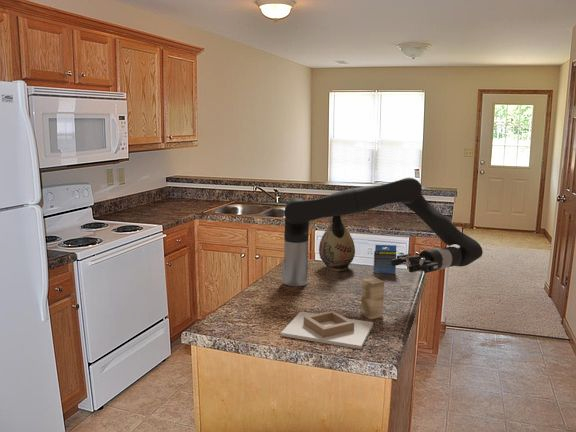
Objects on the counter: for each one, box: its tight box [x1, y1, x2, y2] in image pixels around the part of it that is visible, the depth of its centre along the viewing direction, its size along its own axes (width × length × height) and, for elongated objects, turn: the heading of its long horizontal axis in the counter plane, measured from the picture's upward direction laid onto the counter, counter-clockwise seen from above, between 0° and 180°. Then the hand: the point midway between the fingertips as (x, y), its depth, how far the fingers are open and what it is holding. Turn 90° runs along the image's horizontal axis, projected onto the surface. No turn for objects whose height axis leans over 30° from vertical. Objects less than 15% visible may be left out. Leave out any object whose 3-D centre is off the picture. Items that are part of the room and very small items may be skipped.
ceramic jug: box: [318, 215, 356, 272], centre depth 214 cm, size 17×15×30 cm
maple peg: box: [360, 276, 385, 320], centre depth 164 cm, size 5×5×12 cm
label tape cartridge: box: [372, 244, 397, 275], centre depth 212 cm, size 9×4×12 cm, turn 85°
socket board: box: [280, 310, 374, 350], centre depth 153 cm, size 24×18×4 cm
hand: (400, 265), depth 168 cm, fingers open, 8 cm apart
